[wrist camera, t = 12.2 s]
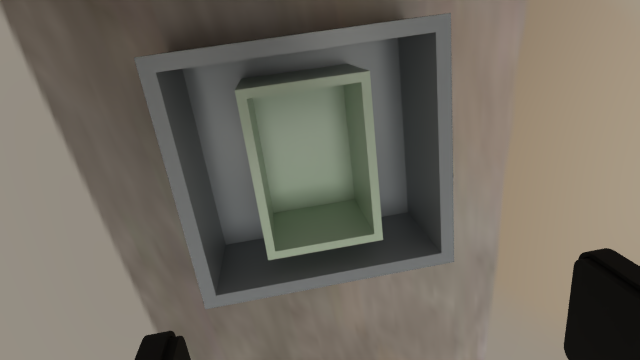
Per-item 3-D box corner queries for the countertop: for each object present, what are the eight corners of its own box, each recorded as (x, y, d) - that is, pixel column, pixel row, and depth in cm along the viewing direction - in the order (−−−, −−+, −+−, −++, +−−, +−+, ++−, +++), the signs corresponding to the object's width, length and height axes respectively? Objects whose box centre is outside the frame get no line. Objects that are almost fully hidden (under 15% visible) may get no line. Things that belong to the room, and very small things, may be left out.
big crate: (167, 52, 25) (133, 57, 19) (404, 18, 26) (450, 13, 20) (218, 250, 30) (205, 309, 24) (414, 215, 32) (454, 261, 25)
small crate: (267, 217, 29) (268, 260, 24) (241, 78, 26) (234, 90, 20) (360, 201, 30) (383, 239, 24) (347, 63, 26) (370, 70, 21)
